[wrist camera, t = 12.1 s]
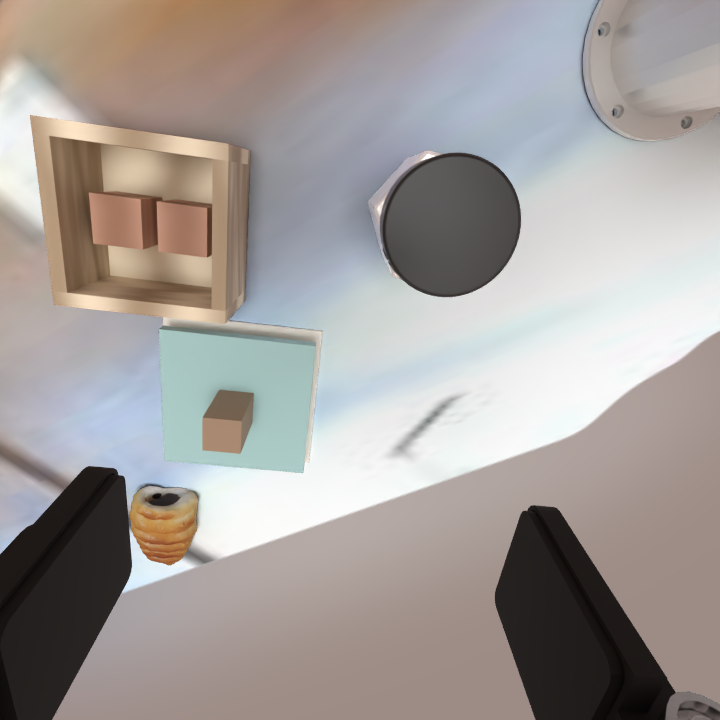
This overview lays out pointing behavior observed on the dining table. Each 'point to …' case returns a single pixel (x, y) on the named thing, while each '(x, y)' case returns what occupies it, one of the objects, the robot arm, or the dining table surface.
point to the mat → (265, 332)
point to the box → (143, 220)
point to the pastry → (164, 522)
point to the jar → (446, 222)
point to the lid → (235, 398)
